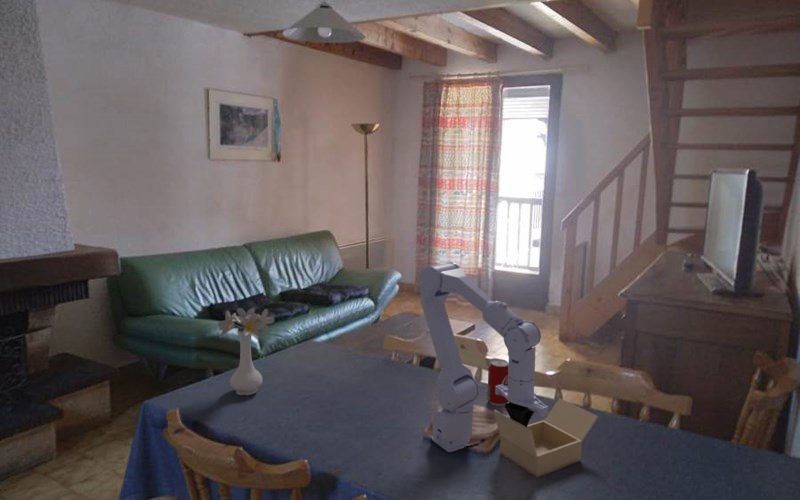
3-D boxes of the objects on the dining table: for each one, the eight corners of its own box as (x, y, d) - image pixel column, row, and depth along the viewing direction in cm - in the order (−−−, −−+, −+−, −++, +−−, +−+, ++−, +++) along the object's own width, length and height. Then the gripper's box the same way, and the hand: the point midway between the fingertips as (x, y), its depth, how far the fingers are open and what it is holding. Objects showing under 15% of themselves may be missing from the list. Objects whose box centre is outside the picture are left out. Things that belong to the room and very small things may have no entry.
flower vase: (280, 381, 172) (279, 303, 168) (251, 405, 154) (249, 319, 150) (242, 377, 174) (240, 300, 171) (209, 400, 157) (206, 315, 153)
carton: (536, 477, 120) (538, 456, 119) (499, 453, 130) (500, 433, 129) (580, 460, 127) (582, 440, 126) (542, 439, 137) (543, 420, 136)
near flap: (494, 409, 127) (493, 410, 127) (531, 429, 117) (529, 430, 117) (501, 434, 129) (499, 434, 129) (537, 456, 119) (536, 457, 119)
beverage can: (509, 408, 155) (511, 367, 153) (486, 406, 156) (488, 365, 154) (509, 399, 161) (511, 360, 159) (487, 397, 162) (489, 358, 160)
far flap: (597, 415, 128) (598, 416, 129) (559, 398, 138) (560, 398, 138) (581, 440, 126) (582, 441, 127) (544, 420, 136) (544, 421, 136)
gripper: (559, 383, 117) (556, 443, 119) (511, 363, 130) (510, 418, 132) (535, 390, 114) (533, 452, 116) (488, 369, 126) (487, 425, 128)
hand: (519, 434), depth 123 cm, fingers closed, pressing on near flap
